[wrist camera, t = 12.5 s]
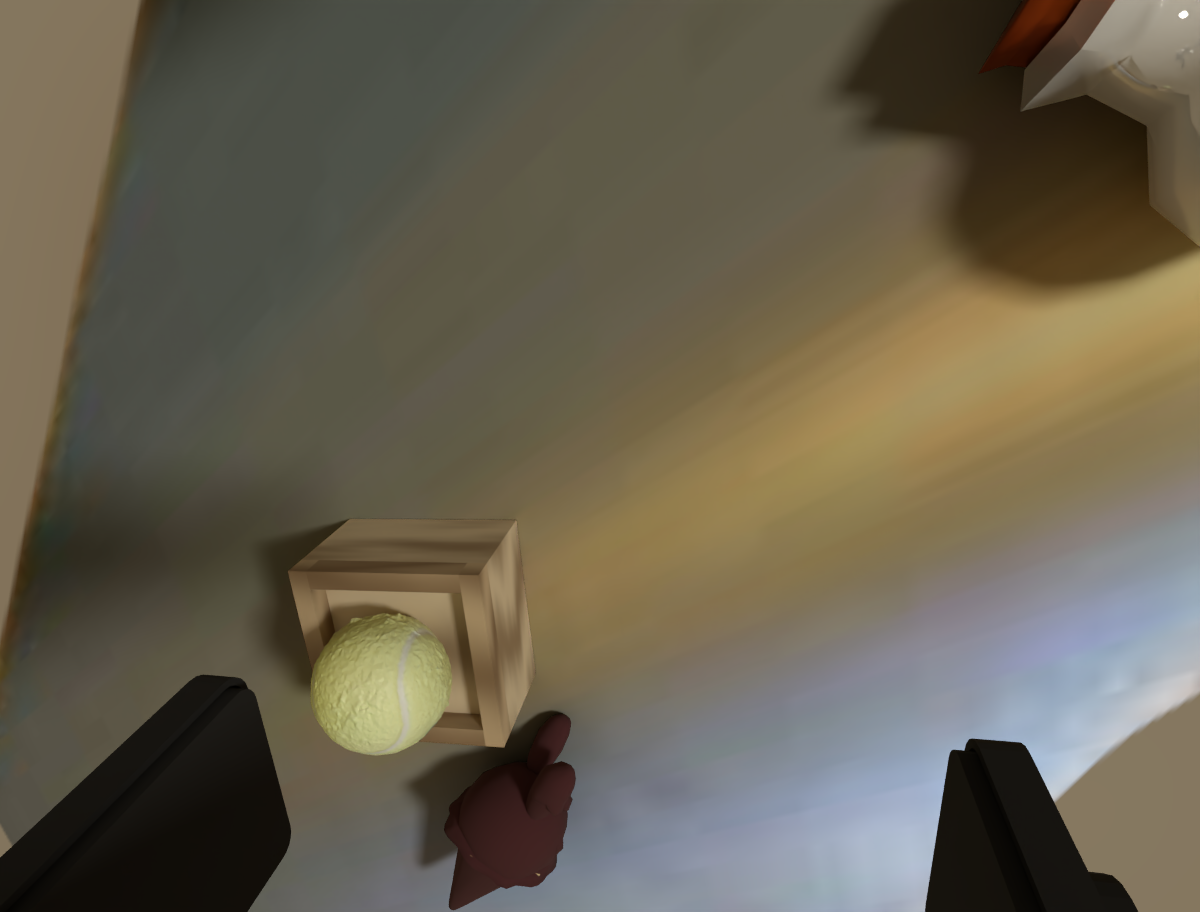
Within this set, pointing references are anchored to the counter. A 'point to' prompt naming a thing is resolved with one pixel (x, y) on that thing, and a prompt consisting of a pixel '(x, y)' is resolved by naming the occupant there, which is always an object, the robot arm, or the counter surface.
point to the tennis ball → (381, 684)
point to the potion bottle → (1121, 79)
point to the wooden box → (432, 608)
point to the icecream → (512, 820)
